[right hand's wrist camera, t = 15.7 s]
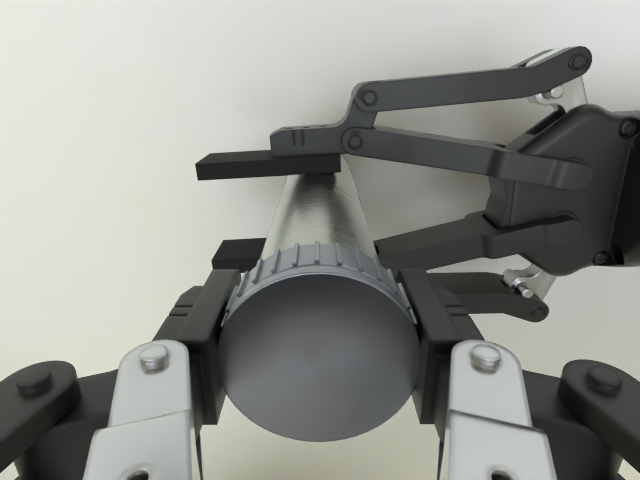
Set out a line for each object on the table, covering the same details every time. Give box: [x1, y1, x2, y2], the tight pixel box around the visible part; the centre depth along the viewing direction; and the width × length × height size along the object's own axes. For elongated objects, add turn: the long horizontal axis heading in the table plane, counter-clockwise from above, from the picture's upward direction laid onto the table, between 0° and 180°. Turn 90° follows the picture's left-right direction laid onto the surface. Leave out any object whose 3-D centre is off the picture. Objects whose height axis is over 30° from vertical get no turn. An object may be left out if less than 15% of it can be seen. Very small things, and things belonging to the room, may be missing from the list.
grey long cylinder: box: [260, 154, 380, 264], centre depth 18 cm, size 4×4×18 cm
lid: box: [217, 241, 420, 442], centre depth 10 cm, size 5×5×2 cm
